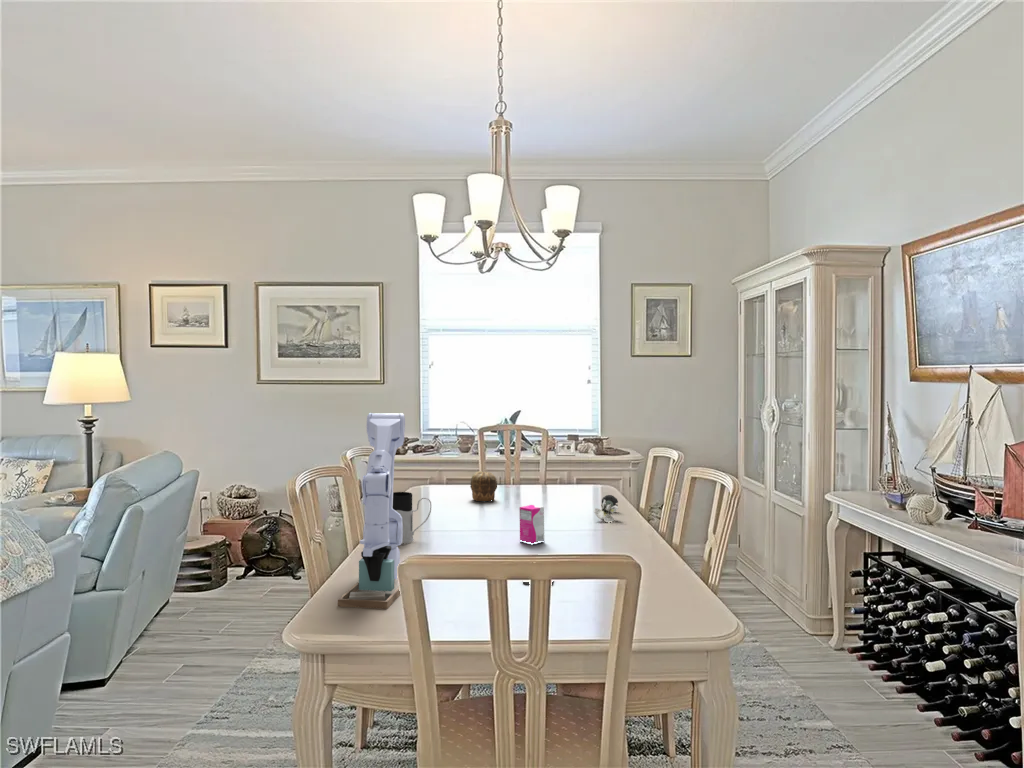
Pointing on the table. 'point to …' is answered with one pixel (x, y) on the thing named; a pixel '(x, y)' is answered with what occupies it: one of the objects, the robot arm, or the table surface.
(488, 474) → the brown muffin
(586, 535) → the table surface
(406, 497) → the glass holder
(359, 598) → the grey offcut
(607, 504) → the artificial flower
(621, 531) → the table surface
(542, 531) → the supplement box
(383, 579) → the teal board
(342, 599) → the brown shallow rectangular tray
